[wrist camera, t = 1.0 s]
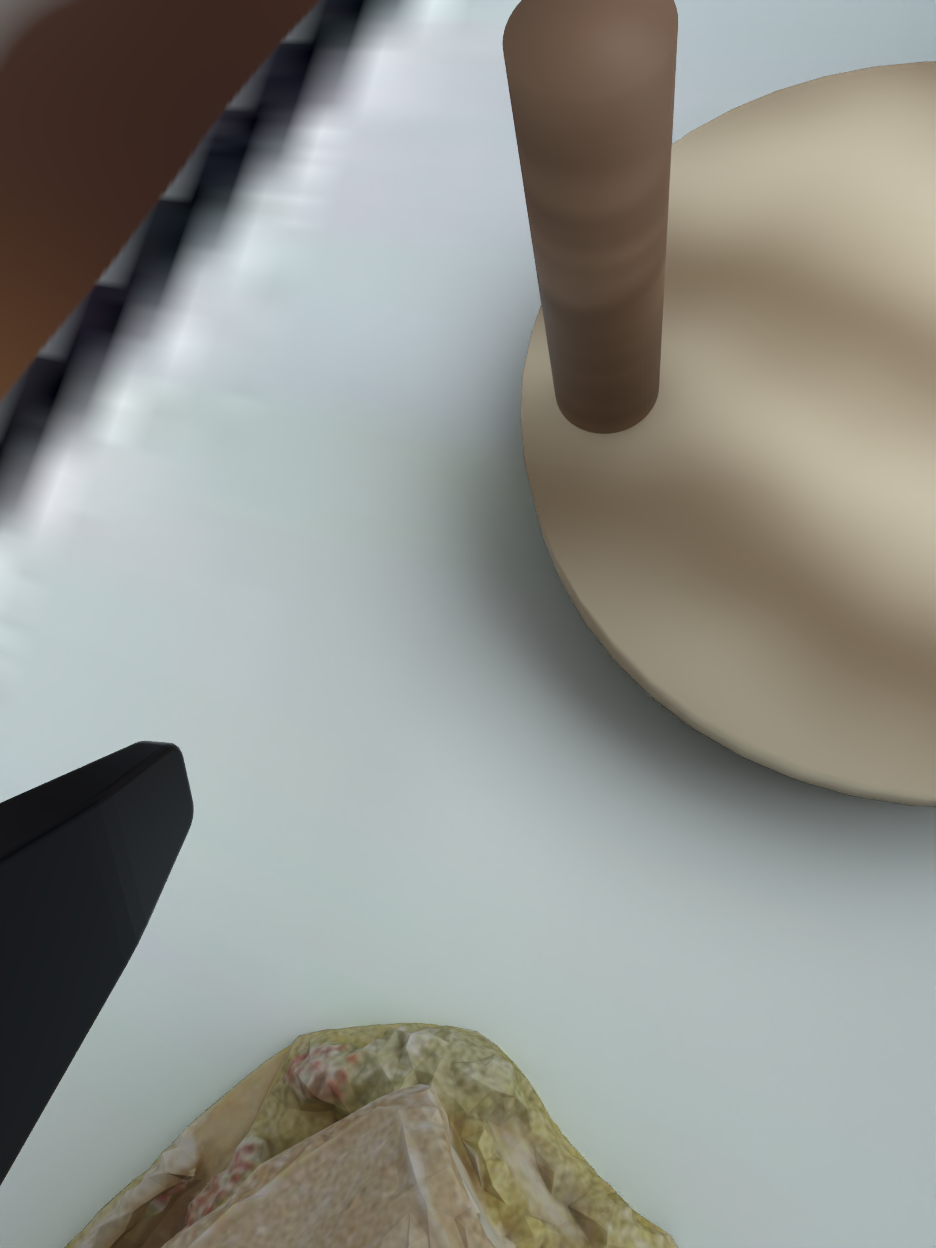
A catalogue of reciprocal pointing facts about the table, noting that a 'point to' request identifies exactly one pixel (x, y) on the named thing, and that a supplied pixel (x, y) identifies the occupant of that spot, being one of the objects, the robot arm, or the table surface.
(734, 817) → the table surface
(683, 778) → the table surface
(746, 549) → the disc
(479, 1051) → the ceramic model
